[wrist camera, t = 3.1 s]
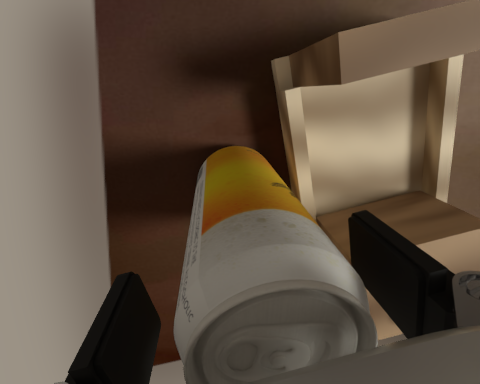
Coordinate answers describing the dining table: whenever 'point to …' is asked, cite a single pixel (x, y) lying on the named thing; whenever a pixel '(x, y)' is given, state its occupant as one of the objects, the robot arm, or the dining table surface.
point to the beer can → (261, 280)
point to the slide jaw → (414, 237)
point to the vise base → (375, 108)
